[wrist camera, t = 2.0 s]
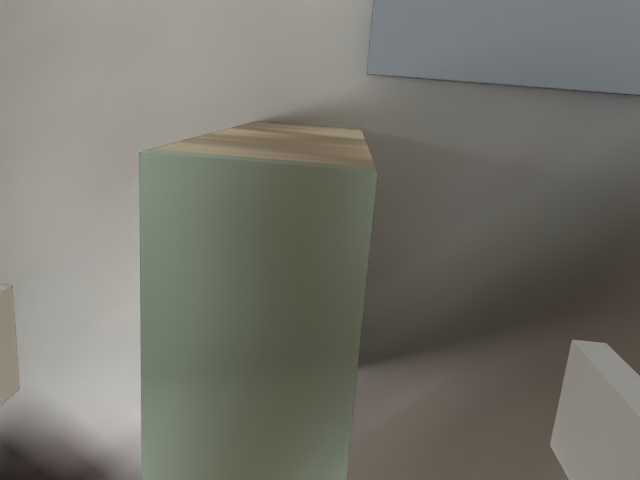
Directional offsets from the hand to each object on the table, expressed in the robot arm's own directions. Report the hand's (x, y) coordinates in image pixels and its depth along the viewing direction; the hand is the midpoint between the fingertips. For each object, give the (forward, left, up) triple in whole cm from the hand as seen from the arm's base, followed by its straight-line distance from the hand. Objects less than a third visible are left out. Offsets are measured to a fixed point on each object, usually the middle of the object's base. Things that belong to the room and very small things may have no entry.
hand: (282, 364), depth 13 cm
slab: (0, 0, -9) cm, 9 cm away
